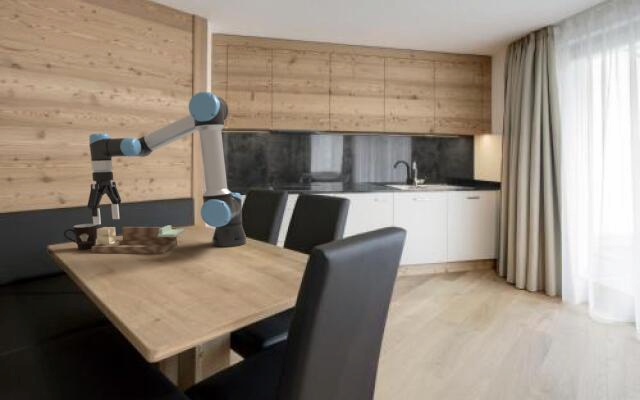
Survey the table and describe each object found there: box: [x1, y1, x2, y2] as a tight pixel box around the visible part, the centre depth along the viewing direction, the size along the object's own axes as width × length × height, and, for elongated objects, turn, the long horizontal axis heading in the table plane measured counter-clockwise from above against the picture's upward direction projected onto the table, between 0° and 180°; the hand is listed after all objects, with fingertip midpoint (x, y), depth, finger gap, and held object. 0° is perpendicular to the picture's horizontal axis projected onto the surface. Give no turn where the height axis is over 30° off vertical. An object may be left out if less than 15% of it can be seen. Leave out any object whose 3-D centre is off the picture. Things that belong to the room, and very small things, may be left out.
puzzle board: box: [91, 226, 178, 254], centre depth 166 cm, size 30×14×8 cm, turn 88°
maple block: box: [96, 226, 117, 244], centre depth 165 cm, size 5×5×6 cm
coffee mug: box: [63, 223, 98, 251], centre depth 167 cm, size 12×9×10 cm
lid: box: [158, 224, 186, 237], centre depth 165 cm, size 7×11×3 cm, turn 178°
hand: (106, 221), depth 165 cm, fingers open, 13 cm apart
